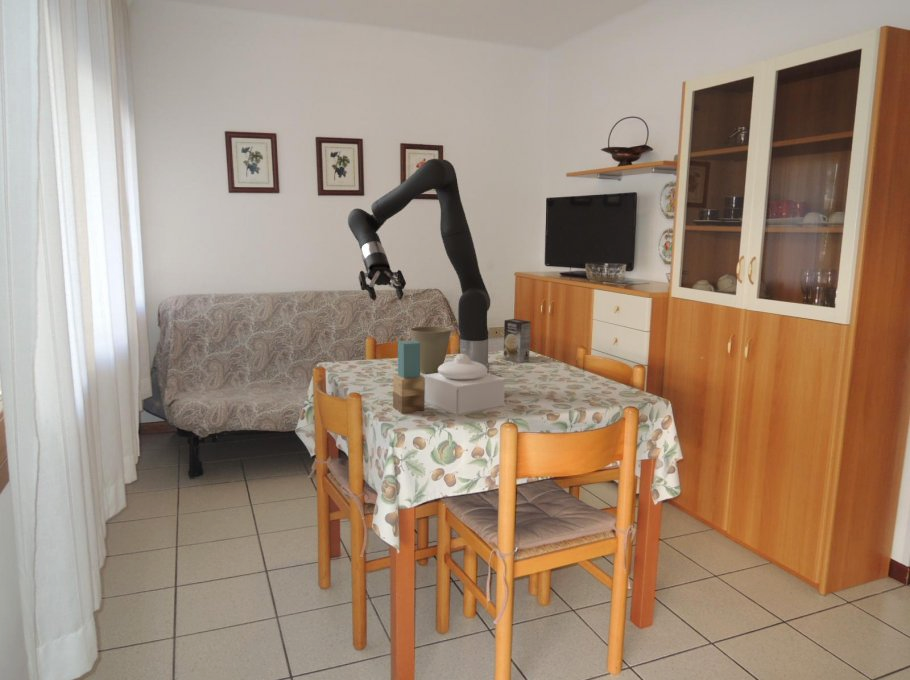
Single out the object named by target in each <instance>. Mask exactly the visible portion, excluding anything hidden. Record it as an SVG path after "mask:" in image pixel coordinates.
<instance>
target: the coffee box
mask: <svg viewBox="0 0 910 680" xmlns="http://www.w3.org/2000/svg"><path fill="white" fill-rule="evenodd" d="M531 323H532V322H531V321H529V320H524V319H518V318H512V319H511V318H510V319H504V324H503V325H504V327H503V328H504V329H503V356H502V357H503V359H502V360H504V361H505V360H506V361H508V362H509V361H510V362H513V363H520V364H521V363H527V362H529V361H530V352H531V351H530V350H531V349H530V347H531V329H532V328H531Z"/></svg>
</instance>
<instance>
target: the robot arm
mask: <svg viewBox="0 0 910 680" xmlns="http://www.w3.org/2000/svg"><path fill="white" fill-rule="evenodd" d="M431 190H434V191H435V193H436V197H437V199H438V203H439V208H440V221H439V223H440V227H439V228H440V229H439V230H440V237H441V240H442V243H443V246H444V250H445V252H446V253H445V254H446V255H447V258H448V259H449V261H450V264H451V266H452V267H453V269H454V271H455V272H456V276H457V278H458V281H459V285H460V288H461V293H462V294H461V296H460V298H459V299H458V309H457V311H458V313H457V315H458V318H457V319H458V325H457V327H458V331H459V354H465V355H467V356H468V357H469V358H470V361H475V362H478V363H481V364H483V365H484V366H486V368H487V373H488V374H490V363H489V335H490V334H489V328H488V311H489V310H490V308H491V297H490V294H489V292H488V289H487V287H486V284H485V283H484V279H483V277H482V273H481V271H480V267H479V262H478V258H477V253H476V248H475V244H474V241H473V236H472V233H471V231H470V226H469V223H468V220H467V217H466V213H465V209H464V205H463V203H462V199H461V196H460V195H461V194H460V190H459V182H458V177H457V172H456V170H455V167H454V165H453V164H452V163H451V162H450V161H449V160H447V159H442V158H431V159H428V160H426V161H425V162H424V163H423V164H422V165H420V166H419V168H417V170H415V172H413V174H411V175H410V176H409V177H408V178H407V179H406V180H404V181H403V182H402V183H400V184H399V185H397V186H396V187H395V188H393V189H392V190H390V191H389V192H386V194H384V195H383V196H381V197H379V198H378V199H376V200H375V201H373V203H372V204H371V213H372V214H370V213H369V212H367V211H366V210H363V209H361V208H354V209H352V210H351V211H350V212H349V213H348V216H347V225H348V228H349V229H350V231H351V233H352V234H353V237H355V239H356V241H357V242H358V245H359V249H360V253H361V258H362V262H363V265H364V267H365V271H366V272H365V271H363V270H360V272H359V274H358V281H359V286H360V289H361V291H367V292H368V296H369V299H370V300H372V301H376V300H377V293H376V290H375V288H374V287H375V285H376V286H388V287H390V288H393V289H394V290H395V292H396V293H395V294H396V296H397V298H398V300H402V299H403V297H404V291H403V290H404V289H405V287H406V284H407V282H406V279H405V277H404V274H403V272H402V271H401V270H400V269H398V270H397V271H392V270H391V266H390V262H389V260H388V257H387V254H386V252H385V249H384V247H383V245H382V241H381V239H380V236H379V234H378V233H377V232H378V231H379V230H380V229H381V227H382V226H383V225H384V224H385V223H386V221H387V220H389V219H390V218H392V217H394V216H395V215H397V214H398V213H399V212H401V211H402V210H403V209H405V208H406V207H407V206H408V205H409V204H410V203H411V202H412V201H413V200H414V199H415V198H416V197H418V196H420V195H422V194H424V193H426V192H429V191H431ZM367 279H369V281H370V282H369V284H367Z"/></svg>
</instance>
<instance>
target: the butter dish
mask: <svg viewBox="0 0 910 680" xmlns="http://www.w3.org/2000/svg"><path fill="white" fill-rule="evenodd" d="M438 372H439V373H434V374H424V375H423V377H424V378H425V389H424V404H427V405H429V406H432V407H434V408H437V409H439V408H440V409H439V410H442V411H444V410H445V412H446V413H449V412H450V414H451V413H452V415H454V414H455V415H454V416H456V415H458V416H463V415H469V414H474V413H477V412H482V411H483V412H484V411H489V410H493V409H494V410H495V409H499V408H504V407H505V388H506V387H505V385H506V383H505V382H506V378H504V377H502V376H497V375H494V374H491V373H489V374H488V373H487V368H486V366H484V365H483V364H481V363H478V362H475V361H470V358H469V357H468V356H467V355H465V354H460V353H458V354H457V355H456V356H455V357H454V360H451V361H450V360H449V361H446V362H444V363H443V364H442V365H440V366H439V367H438Z"/></svg>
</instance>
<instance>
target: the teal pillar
mask: <svg viewBox="0 0 910 680" xmlns="http://www.w3.org/2000/svg"><path fill="white" fill-rule="evenodd" d="M397 374H398V375H399V376H401V377H402V378H404V379H405V378H416V377H420V375H421V372H420V343H419V342H417V341H415V340H411V339H410V340H401V341H400V340H399V341H397Z"/></svg>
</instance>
